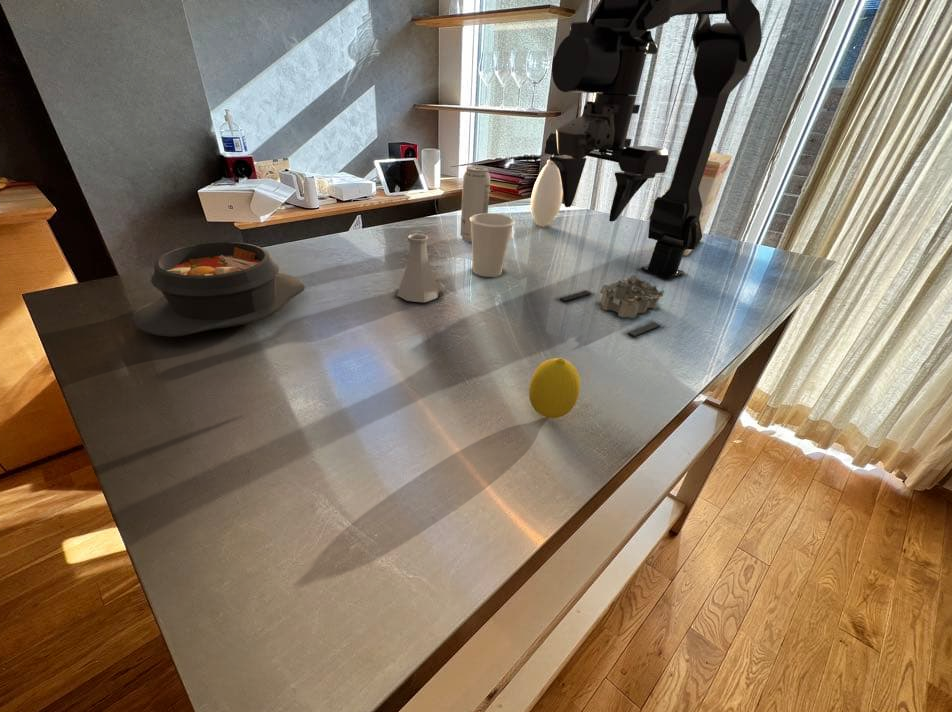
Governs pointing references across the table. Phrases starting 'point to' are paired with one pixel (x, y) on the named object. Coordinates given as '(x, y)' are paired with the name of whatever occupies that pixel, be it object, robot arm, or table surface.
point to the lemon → (554, 388)
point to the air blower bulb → (547, 195)
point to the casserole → (214, 289)
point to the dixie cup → (490, 242)
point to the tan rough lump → (630, 297)
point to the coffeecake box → (711, 186)
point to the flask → (418, 273)
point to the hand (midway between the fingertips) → (589, 213)
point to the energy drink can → (474, 197)
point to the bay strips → (632, 333)
